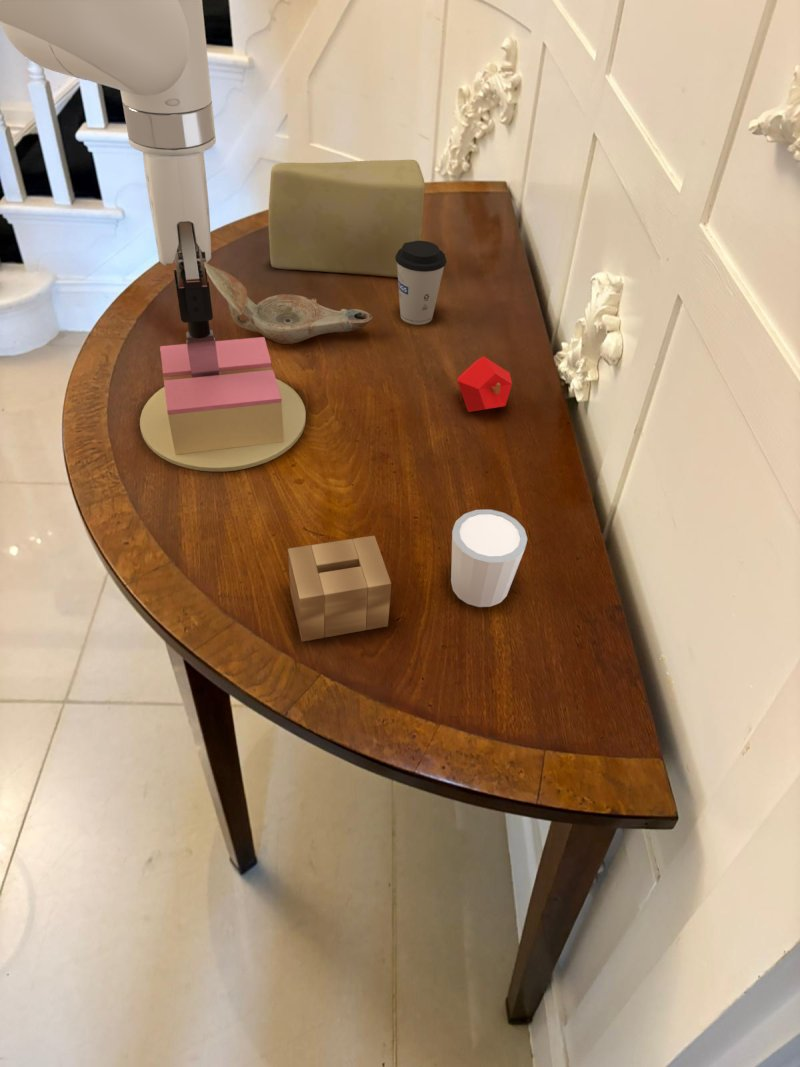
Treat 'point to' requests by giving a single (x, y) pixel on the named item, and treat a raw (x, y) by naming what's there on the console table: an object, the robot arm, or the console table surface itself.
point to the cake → (222, 410)
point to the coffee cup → (419, 280)
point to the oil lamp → (284, 312)
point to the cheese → (344, 215)
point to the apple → (484, 385)
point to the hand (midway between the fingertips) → (195, 311)
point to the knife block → (339, 587)
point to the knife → (201, 349)
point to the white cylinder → (485, 556)
